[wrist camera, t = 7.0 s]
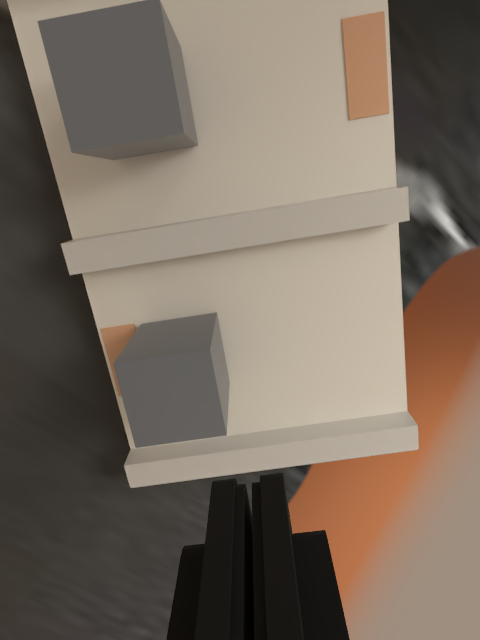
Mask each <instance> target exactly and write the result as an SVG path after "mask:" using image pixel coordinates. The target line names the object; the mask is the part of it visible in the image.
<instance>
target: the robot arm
mask: <svg viewBox="0 0 480 640" xmlns="http://www.w3.org/2000/svg"><path fill="white" fill-rule="evenodd" d="M167 640H350V639H349V635H348V630H347V626H346V622H345V617H344V612H343V608H342V603H341V599H340V594H339V590H338V585H337V580H336V576H335V571H334V567H333V562H332V558H331V553H330V549H329V544H328V540H327V535H326V532H325V530H322V531H313V532H304V533H295V534H292V528H291V522H290V515H289V509H288V502H287V496H286V489H285V483H284V476H283V473H277V474H269V475H260V482H257V483H252V515H251V510H250V505H249V499H248V494H247V489H246V485H245V484H240V485H238V484H237V481H236V479H228V480H220V481H213V482H212V488H211V496H210V505H209V514H208V523H207V532H206V541H205V544H198V545H189V546H184V548H183V550H182V554H181V559H180V564H179V570H178V576H177V582H176V588H175V593H174V599H173V605H172V611H171V617H170V622H169V628H168V634H167Z"/></svg>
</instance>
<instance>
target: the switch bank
mask: <svg viewBox="0 0 480 640" xmlns="http://www.w3.org/2000/svg"><path fill="white" fill-rule="evenodd" d="M139 1H144V0H7V3H8V6H9V10H10V14H11V17H12V21H13V25H14V28H15V32H16V35H17V39H18V43H19V46H20V50H21V54H22V57H23V61H24V64H25V68H26V72H27V75H28V79H29V83H30V86H31V90H32V94H33V97H34V101H35V104H36V108H37V112H38V115H39V119H40V123H41V126H42V130H43V133H44V137H45V141H46V144H47V148H48V152H49V155H50V159H51V162H52V166H53V170H54V173H55V177H56V181H57V184H58V188H59V192H60V195H61V199H62V202H63V206H64V210H65V213H66V217H67V221H68V224H69V228H70V231H71V235H72V239H73V240H70V241H67V242H64V243H61V247H62V250H63V254H64V257H65V261H66V264H67V268H68V271H69V275H74V274H80V273H82V275H83V279H84V282H85V286H86V290H87V293H88V297H89V300H90V304H91V308H92V311H93V315H94V319H95V322H96V326H97V329H98V333H99V337H100V340H101V344H102V348H103V351H104V355H105V358H106V362H107V366H108V369H109V373H110V377H111V380H112V384H113V388H114V391H115V395H116V398H117V402H118V406H119V409H120V413H121V417H122V420H123V424H124V427H125V431H126V435H127V438H128V442H129V446H130V449H131V450H130V452H129V454H128V457H127V459H126V462H125V464H124V468H125V471H126V475H127V478H128V482H129V485H130V488H135V487H143V486H150V485H157V484H165V483H172V482H180V481H187V480H195V479H202V478H210V477H217V476H225V475H232V474H239V473H247V472H254V471H262V470H269V469H277V468H284V467H292V466H299V465H307V464H314V463H321V462H329V461H336V460H343V459H351V458H359V457H366V456H373V455H381V454H389V453H396V452H403V451H410V450H418V449H419V445H418V425H417V424H416V422H415V421H414V420H413V418H412V417H411V415H410V414H409V413H408V411H407V394H406V373H405V351H404V331H403V309H402V288H401V267H400V246H399V225H398V222H404V221H410V217H409V192H408V186H397V183H396V162H395V141H394V121H393V100H392V79H391V58H390V37H389V16H388V0H160V1H161V3H162V5H163V7H164V10H165V12H166V14H167V16H168V19H169V21H170V23H171V26H172V28H173V30H174V32H175V35H176V37H177V39H178V41H179V44H180V46H181V50H182V55H183V61H184V67H185V73H186V78H187V84H188V90H189V95H190V101H191V107H192V112H193V118H194V124H195V129H196V135H197V141H198V146H193V147H188V148H182V149H176V150H170V151H165V152H159V153H153V154H147V155H142V156H136V157H130V158H124V159H118V160H109V159H103V158H98V157H92V156H87V155H81V154H76V153H72V152H71V148H70V145H69V141H68V137H67V133H66V129H65V125H64V122H63V118H62V114H61V110H60V106H59V102H58V98H57V95H56V91H55V87H54V83H53V79H52V75H51V72H50V68H49V64H48V60H47V56H46V52H45V49H44V45H43V41H42V37H41V33H40V29H39V26H38V22H37V21H40V20H45V19H50V18H56V17H61V16H66V15H71V14H76V13H82V12H87V11H92V10H97V9H103V8H108V7H113V6H118V5H123V4H129V3H134V2H139ZM215 312H217V315H218V321H219V326H220V332H221V337H222V342H223V348H224V353H225V359H226V364H227V370H228V375H229V380H230V387H229V404H228V422H227V435H226V436H219V437H212V438H204V439H197V440H190V441H183V442H175V443H168V444H161V445H154V446H147V447H139V448H136V447H135V444H134V440H133V436H132V433H131V429H130V425H129V422H128V418H127V414H126V411H125V407H124V403H123V399H122V396H121V392H120V388H119V385H118V381H117V377H116V374H115V370H114V366H113V363H114V362H115V360H116V359H117V357H118V356H119V355H120V353H121V352H122V350H123V349H124V347H125V346H126V345H127V343H128V342H129V340H130V339H131V338H132V336H133V335H134V333H135V332H136V331H137V329H138V328H139V326H140V325H141V324H144V323H150V322H157V321H163V320H170V319H176V318H183V317H189V316H196V315H202V314H209V313H215Z"/></svg>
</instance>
